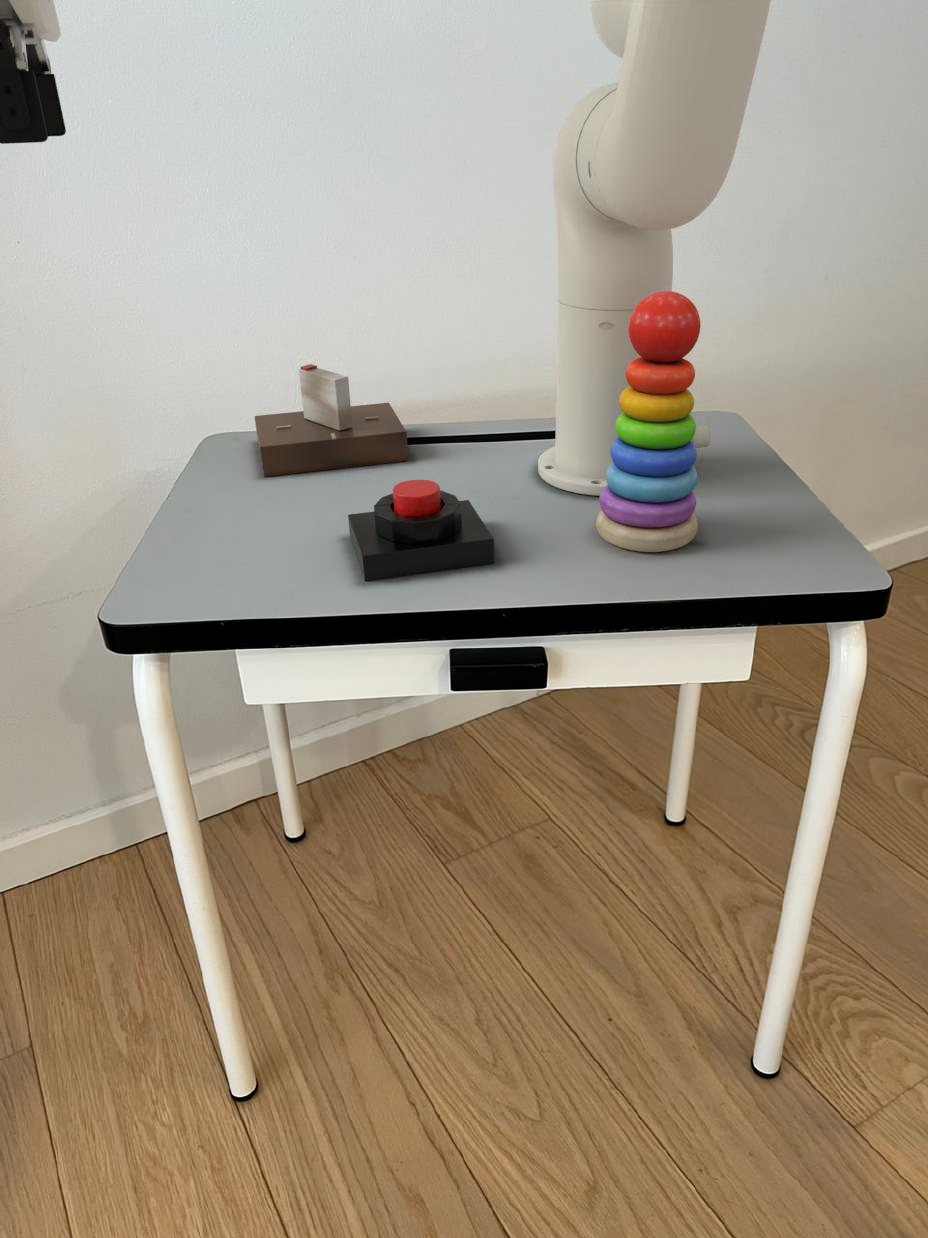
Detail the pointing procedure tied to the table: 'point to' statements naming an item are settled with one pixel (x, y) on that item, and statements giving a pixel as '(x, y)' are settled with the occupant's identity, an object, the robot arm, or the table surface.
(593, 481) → the robot arm
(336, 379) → the grey rectangular block
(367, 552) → the switch block
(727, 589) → the table surface
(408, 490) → the button
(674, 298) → the stacking toy
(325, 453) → the brown base block
